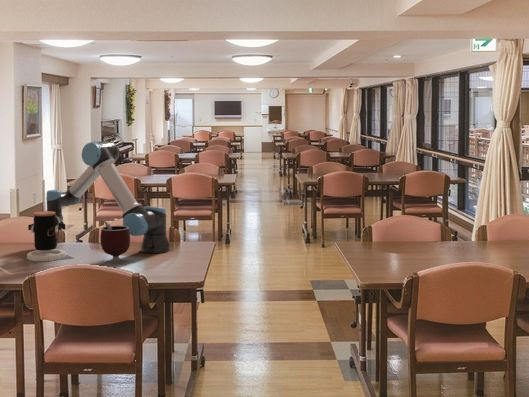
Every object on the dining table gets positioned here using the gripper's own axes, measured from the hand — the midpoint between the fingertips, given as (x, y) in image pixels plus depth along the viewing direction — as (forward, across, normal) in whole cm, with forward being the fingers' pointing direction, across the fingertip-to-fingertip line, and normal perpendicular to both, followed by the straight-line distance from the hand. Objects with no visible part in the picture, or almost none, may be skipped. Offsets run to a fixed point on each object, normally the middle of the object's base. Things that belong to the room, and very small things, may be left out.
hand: (44, 229), depth 359 cm
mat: (-3, 0, -15) cm, 15 cm away
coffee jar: (-3, 0, -10) cm, 11 cm away
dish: (-3, 0, -14) cm, 15 cm away
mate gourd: (+13, -35, -15) cm, 40 cm away
